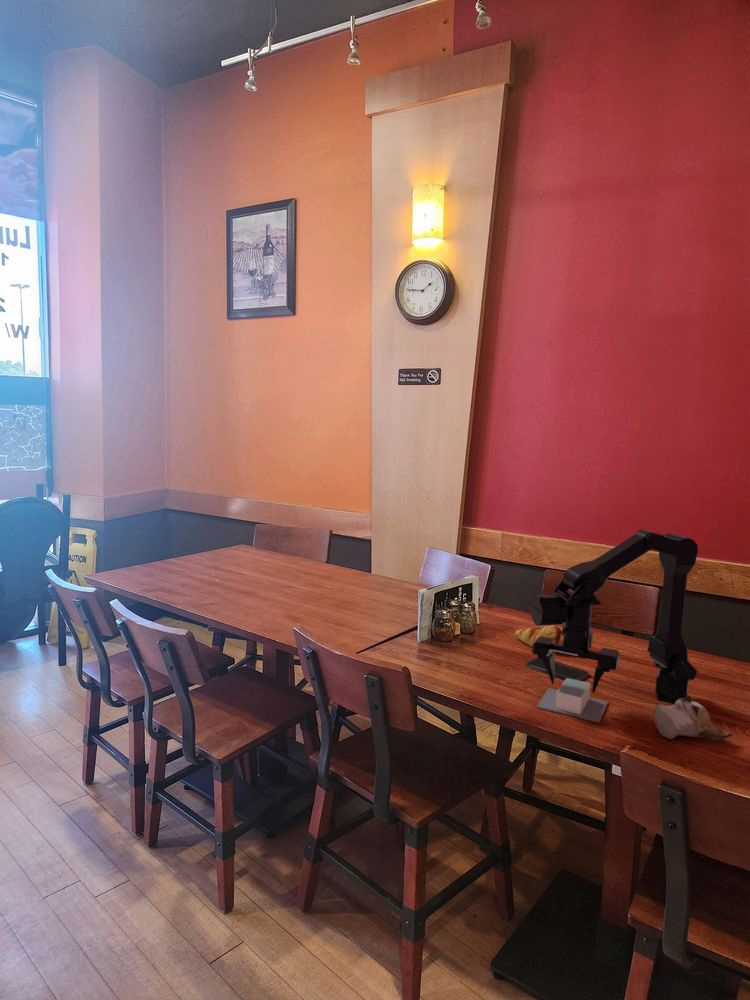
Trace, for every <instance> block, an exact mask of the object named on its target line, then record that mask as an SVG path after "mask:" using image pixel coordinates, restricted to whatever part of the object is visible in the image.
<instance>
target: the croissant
mask: <svg viewBox="0 0 750 1000" xmlns="http://www.w3.org/2000/svg"><path fill="white" fill-rule="evenodd" d="M514 635H515V637H516V638H517V639H518V640H520V641H521V642H522V643H524V644H526V645H528V646H530V647H531V648H532V646H533V643H534V642H535V641H536V640H537V638H539V637H540V636H542V637H547V638H553V639H554V640H555V644H559V645H563V636H562V629H561V628H560V627H559V626H557V625H545V627H543V626H532V627H530V628H529V627H527V628H526V627H523V628H521V629H516V630H515V632H514Z"/></svg>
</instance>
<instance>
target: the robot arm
mask: <svg viewBox="0 0 750 1000" xmlns="http://www.w3.org/2000/svg"><path fill="white" fill-rule="evenodd" d="M651 550H653V551H657V552H658V557H659V558H658V559H659V563H661V566H662V570H663V583H662V595H661V605H660V606H661V607H660V617H659V628H658V631H657V632H656V633H655V635H649V636H648V647H647V649H646V651H647V652H648V653H649V658H650V659H651V660H652V661H653V663H654V667H656V668H657V669H659V673H658V674H656V677H655V679H656V680H655V692H654V693H655V694H656V700H659V701H660V700H661V701H666V702H669V703H674V704H675V702H676V701H677V700H678V699H680V698H685V697H687V698H689V693H688V691H689V690H688V688H689V681H693V680H695V678H696V676H697V674H698V670H697V669H696V667H694V666H693V665H692V664H691V663H690V661H688V660H689V657H688V646H687V643H686V641H685V639H684V636H683V626H684V625H683V623H684V615H685V604H686V603H685V602H686V591H687V580H688V575H689V573H690V572H691V570H692V569H693V568H694V566H695V565H696V561H697V557H698V555H699V554H698V553H699V546H698V543H696V541H695V540H694V539H692V538H691V537H687V536H684V535H681V534H677V533H672V532H669V533H666V534H665V535H664V534H661V533H660V534H659V533H656V532H654V531H650V530H647V529H640V530H637V531H636V532H635V533H634V534H633V535H632V536H630V537H629V538H627V539H626V540H624V541H622V542H620V543H619V544H617V545H616V546H614V547H612V548H611V549H610V550H608V551H606V552H605V553H604V554H602V555H600V556H598V557H596V558H595V559H592V560H589V561H584V562H579V563H578V564H575V565H573V566H571V567H569V568H567V569H566V570H565V571H564V573H563V577H562V579H561V580H560V581H559V583H558V584H557V585H556V586H555V588H554V589H553V591H552V592H551V593H552V594H548V595H547V594H546V595H545V594H536V598H535V600H533V603H532V606H531V607H530V613H531V614H530V615H531V619H532V622H533V624H534V625H535V626H536V627H543V626H553V625H554V626H557V625H559V626H560V625H562V629H561V631H562V636H563V645H559V644H555V640H554V639H553V638H547V637H542V636H540V637H539V638H537V640H536V641H535V642H534V643H533V646H532V647H531V649H532V650H531V654H533V655H536V656H537V657H538V658H539V659H541V660H542V662H543V663H544V665H545V667H546V669H547V672H548V674H549V675H548V674H547V675H548V677H549V680H550V682H551V684H552V685H554V684H555V682H556V677H555V661H556V660H555V658H556V654H557V653H558V654H562V655H567V656H572V657H579V658H581V659H588V660H593V661H597V662H596V663H597V665H596V667H595V670H594V677H593V681H592V682H593V683H592V687H591V688H592V690H591V691H592V693H595V692H596V690H597V687H598V686H599V685H598V684H599V682H600V680H601V679H602V676H603V675H604V674H605V673H610V672H611V671H615V670H617V668H618V665H619V663H620V659H621V654H620V653H621V652H619V650H618V649H612V648H606V647H601V649H600V650H599V651H597V650H590V649H591V648H592V646H593V644H592V643H593V638H594V631H592V630H591V622H592V621H591V619H592V606H600V605H602V602H601V601H600V600H599V599H598V597H596V595H595V594H596V593H597V592H598V591H599V590H600V589H601V588H603V587H604V584H605V583H606V581H607V580H608V579H609V577H610V576H612V575H613V574H615V573H616V572H618V571H620V570H621V569H624V567H626V566H627V565H629V564H630V563H632V562H634V561H636V560H637V559H639V558H640V557H642V556H643V555H645V554H646V553H648V552H649V551H651ZM568 591H570V592H572V593H569V592H568Z"/></svg>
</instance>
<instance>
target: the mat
mask: <svg viewBox="0 0 750 1000" xmlns="http://www.w3.org/2000/svg"><path fill="white" fill-rule="evenodd" d="M558 690H559V689H553V688H548V689H547V690H546V691H545V693H544V694H543V696H542V697H541V698H540V700H539V702H538V703H537V705H536V708H537V709H540V710H543V711H547V712H552V711H553V713H556V712H557V713H556V714H560V713H562V714H561V715H565V714H566V715H565V716H569V715H570V717H573V716H575V717H574V718H577V717H579V719H582V720H587V721H591V722H596V723H599V724H600V723H601V720H602V718H603V715H604V713H605V712H606V709H607V706H608V704H609V701H608V700H607V701H606V700H603V699H599V698H595V697H590V696H589V700H588V702H587V704H586V706H585V707H584V709H583V711H582V712H581V714H576V713H572V712H568V711H564V710H560V709H556V697H557V691H558Z"/></svg>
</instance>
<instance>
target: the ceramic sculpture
mask: <svg viewBox="0 0 750 1000" xmlns="http://www.w3.org/2000/svg"><path fill="white" fill-rule="evenodd" d="M654 720H655V725H656V728H657V730H658V733H659V734H660V735H661V736H662V737H663V738H667V739H669V740H673V739H675V738H677V736H684V737H688V738H689V737H690V738H691V737H692V738H700V737H701V738H702V739H705V740H710V741H720V740H725V739H727V738H730V737H732V736H733V734H734V733H732V732H727V731H725V730H722V728H720V727H718V726H714V725H712V724H711V722H710V721H711V719H710V714H709V712H708V710H707V709H706V708H705V707H704V706H703V705H701V704H700V703H699V702H697V701H694V700H691V698H690V697H688V698H687V697H685V698H680V699H678V700H677V701H676V702H675V703H674V704H673V705H664V704H661V703H660V704H658V703H657V704H656V705H655V707H654Z"/></svg>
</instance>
